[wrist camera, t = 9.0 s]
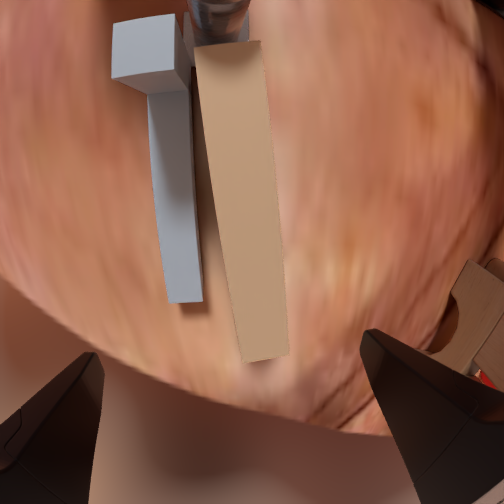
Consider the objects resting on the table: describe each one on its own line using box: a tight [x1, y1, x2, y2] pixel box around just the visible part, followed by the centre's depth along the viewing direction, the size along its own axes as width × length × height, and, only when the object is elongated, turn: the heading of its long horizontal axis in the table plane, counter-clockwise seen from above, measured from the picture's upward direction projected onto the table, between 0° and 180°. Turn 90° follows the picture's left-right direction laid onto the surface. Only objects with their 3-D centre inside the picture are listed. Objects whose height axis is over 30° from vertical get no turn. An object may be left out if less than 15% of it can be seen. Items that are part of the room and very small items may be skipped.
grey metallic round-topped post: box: [183, 0, 251, 67], centre depth 9 cm, size 4×4×10 cm
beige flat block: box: [194, 41, 289, 363], centre depth 14 cm, size 13×2×7 cm, turn 7°
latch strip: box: [112, 14, 203, 303], centre depth 13 cm, size 2×14×8 cm, turn 2°
